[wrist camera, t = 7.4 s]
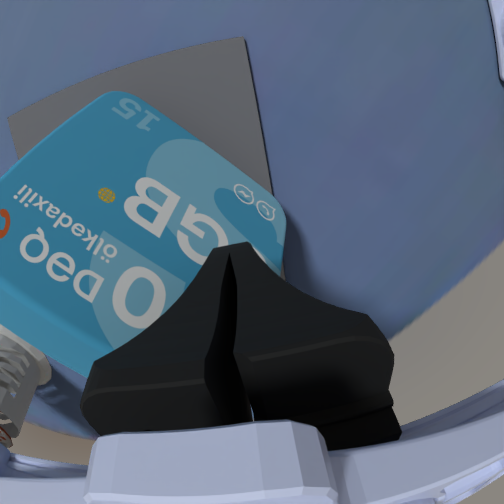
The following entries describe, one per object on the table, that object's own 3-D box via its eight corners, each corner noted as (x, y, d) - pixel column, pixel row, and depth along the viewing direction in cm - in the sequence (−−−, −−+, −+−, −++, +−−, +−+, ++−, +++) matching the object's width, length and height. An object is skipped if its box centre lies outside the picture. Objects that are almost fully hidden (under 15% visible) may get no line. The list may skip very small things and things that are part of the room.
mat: (243, 37, 15) (243, 36, 15) (287, 295, 24) (287, 298, 24) (9, 117, 15) (7, 117, 15) (95, 328, 24) (94, 330, 24)
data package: (290, 207, 19) (261, 420, 10) (243, 244, 21) (198, 427, 13) (118, 81, 14) (-57, 237, 6) (90, 139, 17) (-40, 294, 9)
